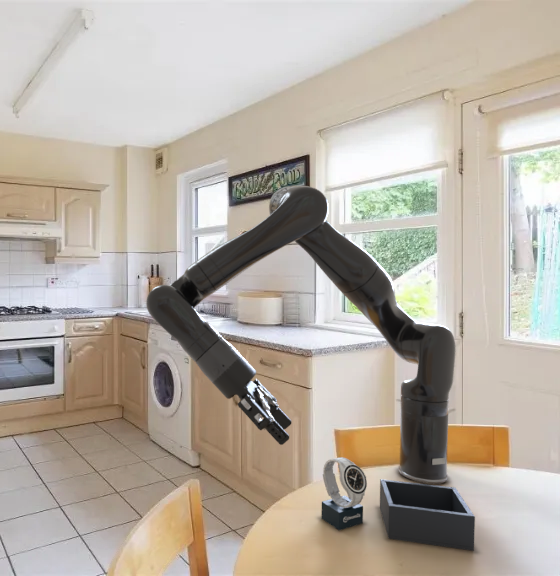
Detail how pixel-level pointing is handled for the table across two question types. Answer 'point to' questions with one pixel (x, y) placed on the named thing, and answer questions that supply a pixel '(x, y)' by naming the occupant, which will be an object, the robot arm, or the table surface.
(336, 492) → the watch
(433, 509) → the box
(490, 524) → the table surface
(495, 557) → the table surface
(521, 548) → the table surface
